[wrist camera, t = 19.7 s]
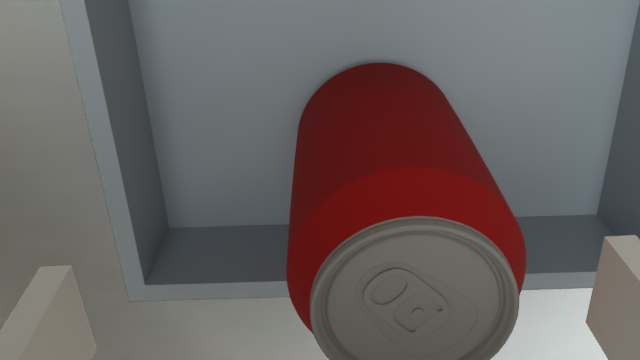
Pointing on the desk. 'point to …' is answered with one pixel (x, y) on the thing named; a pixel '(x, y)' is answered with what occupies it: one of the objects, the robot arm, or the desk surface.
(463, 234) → the beverage can
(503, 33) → the tote
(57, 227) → the desk surface
